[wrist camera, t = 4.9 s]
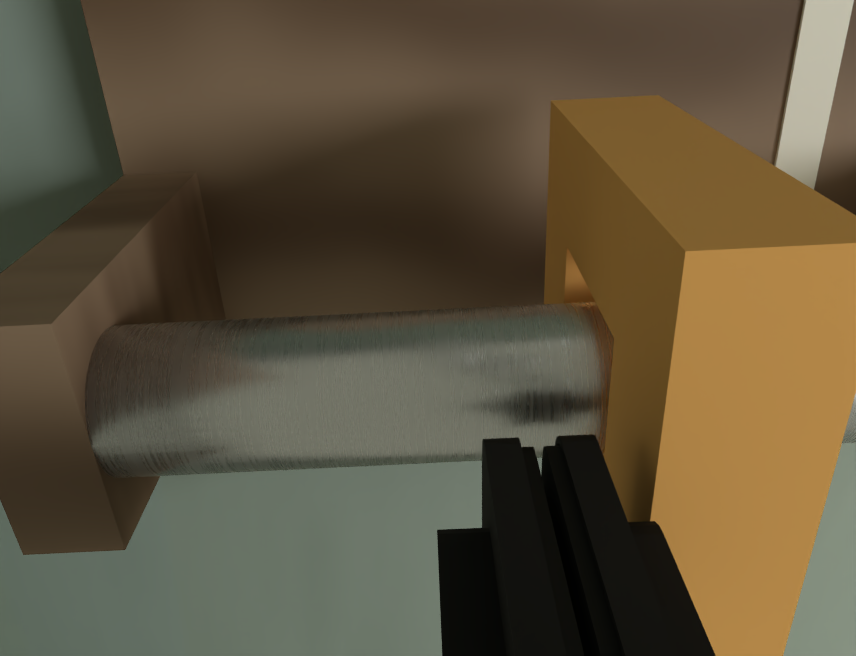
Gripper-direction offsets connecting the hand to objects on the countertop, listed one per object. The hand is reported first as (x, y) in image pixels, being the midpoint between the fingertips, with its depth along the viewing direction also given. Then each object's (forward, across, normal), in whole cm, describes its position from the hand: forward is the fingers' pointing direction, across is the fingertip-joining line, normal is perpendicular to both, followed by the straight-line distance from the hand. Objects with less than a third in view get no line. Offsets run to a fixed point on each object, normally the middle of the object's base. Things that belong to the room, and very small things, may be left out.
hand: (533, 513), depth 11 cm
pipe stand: (+13, -3, 0) cm, 13 cm away
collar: (+8, -3, 0) cm, 9 cm away
